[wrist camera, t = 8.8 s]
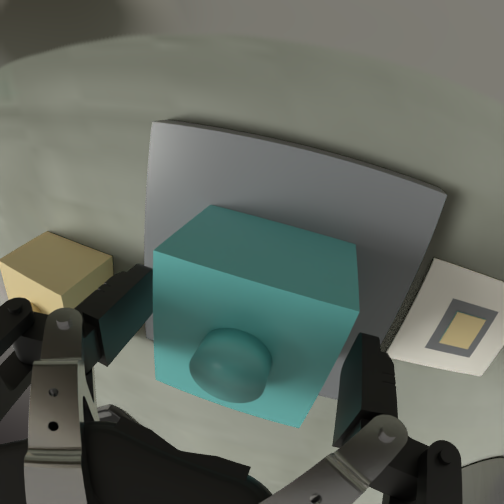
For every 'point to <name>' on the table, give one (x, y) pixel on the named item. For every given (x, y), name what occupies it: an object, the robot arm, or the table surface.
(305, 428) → the table surface
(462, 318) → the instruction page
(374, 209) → the plate
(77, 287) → the yellow knobbed block
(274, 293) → the teal brick
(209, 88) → the table surface
